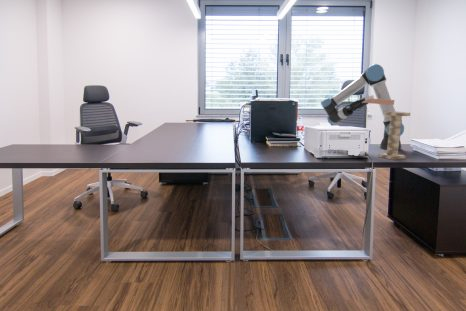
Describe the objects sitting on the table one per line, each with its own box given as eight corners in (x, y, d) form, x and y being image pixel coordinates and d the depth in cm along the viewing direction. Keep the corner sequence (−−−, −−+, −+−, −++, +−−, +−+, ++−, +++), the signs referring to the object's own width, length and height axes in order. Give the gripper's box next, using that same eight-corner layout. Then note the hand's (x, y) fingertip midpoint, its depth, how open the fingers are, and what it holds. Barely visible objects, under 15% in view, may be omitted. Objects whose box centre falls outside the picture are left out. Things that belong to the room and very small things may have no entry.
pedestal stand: (378, 156, 279) (383, 111, 274) (389, 155, 286) (393, 111, 281) (394, 159, 270) (399, 113, 264) (405, 158, 277) (410, 112, 271)
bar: (359, 102, 292) (359, 98, 291) (363, 102, 294) (363, 98, 293) (390, 104, 273) (390, 100, 272) (393, 104, 275) (394, 100, 275)
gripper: (354, 116, 308) (380, 102, 290) (339, 116, 298) (365, 101, 280) (351, 107, 310) (376, 92, 292) (336, 107, 300) (361, 91, 282)
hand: (371, 97), depth 286 cm, fingers closed on bar, 4 cm apart
